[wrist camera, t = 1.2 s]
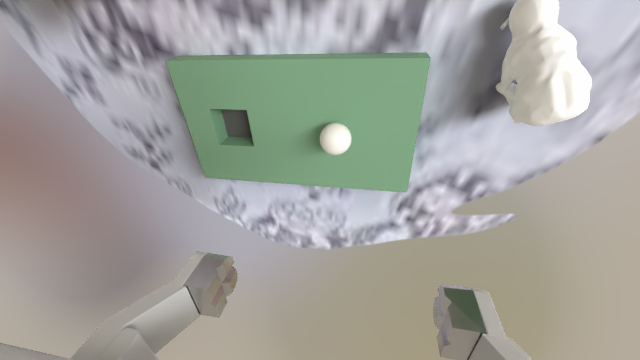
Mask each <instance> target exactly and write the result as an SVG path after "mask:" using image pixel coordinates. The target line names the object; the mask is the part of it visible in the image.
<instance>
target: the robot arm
mask: <svg viewBox="0 0 640 360" xmlns="http://www.w3.org/2000/svg"><path fill="white" fill-rule="evenodd" d="M233 263H234V261H233V258H232V257H230V256H224V255H218V254H211V253H204V252H196V253H194V254H193V255H192V256H191V258H190V259H189V260H188V262H187V263H186V264H185V266H184V267H183V268H182V270H181V271H180V272H179V274H178V275H177V276H176V277H175V279H174V280H173V281H172V283H171V284H169V283H167V284H165V285H164V286H162V287H160V288H159V289H157V290H155V291H154V292H152V293H150V294H149V295H147V296H145V297H143V298H142V299H140V300H139V301H137V302H135V303H133V304H132V305H130V306H129V307H127V308H125V309H123V310H122V311H120V312H118V313H117V314H115V315H113V316H112V317H110V318H108V319H106V320H105V321H103V322H102V323H101V324H100V326H99V327H98V328H97V329H96V330H95V331H94V333H93V334H92V335H91V336H90V337H89V338H88V339H87V340H86V341H85V343H84V344H83V345H82V346H81V347H80V348H79V349H78V350H77V352H76V353H75V354H74V355H73V356H72V357H71V358H70V359H68V358H64V357H60V356H55V355H51V354H47V353H42V352H38V351H33V350H29V349H25V348H20V347H16V346H12V345H7V344H3V343H0V360H159V359H158V358H157V356H156V355H155V354H156V353H157V352H158V351H159V350H160V349H162V348H163V347H164V346H165V345H166V344H167V343H169V342H170V341H171V340H172V339H173V338H174V337H176V336H177V335H178V334H179V333H180V332H181V331H183V330H184V329H185V328H186V327H187V326H188V325H190V324H191V323H192V322H193V321H194V320H196V319H197V318H198V317H199V316H200V315H206V316H212V317H220V315H221V313H222V311H223V309H224V308H225V306H226V304H227V298H226V297H227V296H228V295H229V294H231V293H232V292H233V290H234V288H235V286H236V282H237V271H236V269H235V268H234V267H233V266H232V265H233ZM438 294H439V296H438V297H436V298H435V301H434V307H433V316H434V323H435V325H436V327H437V328H438V329H439V332H438V335H437V341H438V347H439V352H440V357H444V358H449V359H454V360H532V359H531V358H530V357H529V356H528V355H527V354H526V353H525V352H524V351H523V350H522V349H521V348H520V347H519V346H518V345H517V344H516V343H515V342H514V341H513V340H512V339H511V338H507V337H506V336H505V333H504V330H503V328H502V325H501V323H500V320H499V318H498V315H497V312H496V310H495V307H494V304H493V302H492V299H491V296H490V294H489V292H488V291H487V290H482V289H474V288H468V287H461V286H452V285H444V284H441V285H440V286H439V288H438Z"/></svg>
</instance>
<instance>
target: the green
mask: <svg viewBox="0 0 640 360" xmlns="http://www.w3.org/2000/svg"><path fill="white" fill-rule="evenodd" d="M165 61H166V64H167V67H168V70H169V73H170V76H171V79H172V81H173V84H174V87H175V90H176V93H177V96H178V99H179V102H180V105H181V108H182V111H183V114H184V116H185V119H186V122H187V125H188V128H189V131H190V134H191V137H192V140H193V143H194V146H195V149H196V151H197V154H198V157H199V160H200V163H201V166H202V169H203V172H204V175H205V178H218V179H231V180H245V181H258V182H272V183H285V184H299V185H312V186H326V187H339V188H353V189H367V190H380V191H394V192H407V190H408V184H409V178H410V172H411V167H412V161H413V155H414V149H415V144H416V138H417V132H418V126H419V121H420V115H421V109H422V103H423V98H424V92H425V86H426V80H427V75H428V69H429V63H430V57H429V55H428V54H427V53H361V54H284V55H207V56H178V57H174V58H171V59H168V60H165ZM331 123H340V124H343V125H345V126H346V127H347V128H348V129H349V131H350V133H351V137H352V140H351V144H350V147H349V148H348V150H347V151H345V152H344V153H342V154H339V155H332V154H329V153H327V152H326V151H325V150H324V149H323V148H322V146H321V144H320V134H321V132H322V130H323V129H324V128H325V127H326V126H327V125H329V124H331Z"/></svg>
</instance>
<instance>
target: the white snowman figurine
mask: <svg viewBox="0 0 640 360" xmlns="http://www.w3.org/2000/svg"><path fill="white" fill-rule="evenodd" d="M559 6H560V5H559V3H558V0H517V1H516V3H515V4H514V6H513V7H512V9H511V12H510V15H509V18H508V19H507V20H506V21H505V22H504V23H503V24H502V26H501V27H500V28H499V29H501V28H502V27H503V26H504V27H505V26H506V25H507V24H508V22H509V28H510V30H511V33H512V41H511V44H510V46H509V48H508V49H507V52H506V55H505V58H504V61H503V63H502V75H501V83H498V84H497V85H496V89H497V91H498V92H499V93H501V94H502V95H504V96H505V97H506V99H507V102H508V103H509V106H510V108H509V114H510V115H511V117H512V118H513V120H514V122H515V123H518V122H523V123H525V124H529V125H533V126H542V125H549V124H552V123H556V122H560V121H564V120H568V119H571V118H574V117H576V116H577V115H579V114H581V113H582V112H584V111H585V110H586V109H587V107H588V105H589V101H590V89H591V85H592V81H591V76H590V75H589V73H588V72H587V70H586V69H585V68H584V67H583V66H582V64H581V63H580V61H579V60H578V59H577V50H576V45H577V42H576V39H575V37H574V36H573V35H572V34H571V33H569V32H568V31H566V30H565V29H564V28H563V27H562V26H560V25H558V23H557V19H558V14H559ZM504 27H503V28H502V30H503V29H504ZM506 27H507V26H506ZM507 29H508V28H507ZM502 30H501V31H502ZM514 79H515V80H516V82H517V85H516V84H514V83H511V82H512V81H513V80H514Z"/></svg>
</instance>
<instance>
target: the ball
mask: <svg viewBox="0 0 640 360" xmlns="http://www.w3.org/2000/svg"><path fill="white" fill-rule="evenodd" d="M351 140H352V137H351V133H350V131H349V129H348V128H347V127H346V126H345V125H343V124H340V123H331V124H329V125H327V126H326V127H325V128H324V129H323V130H322V132H321V134H320V144H321V146H322V148H323V149H324V150H325V151H326V152H327V153H329V154H332V155H339V154H342V153H344V152H345V151H347V150H348V148H349V147H350V144H351Z"/></svg>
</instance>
